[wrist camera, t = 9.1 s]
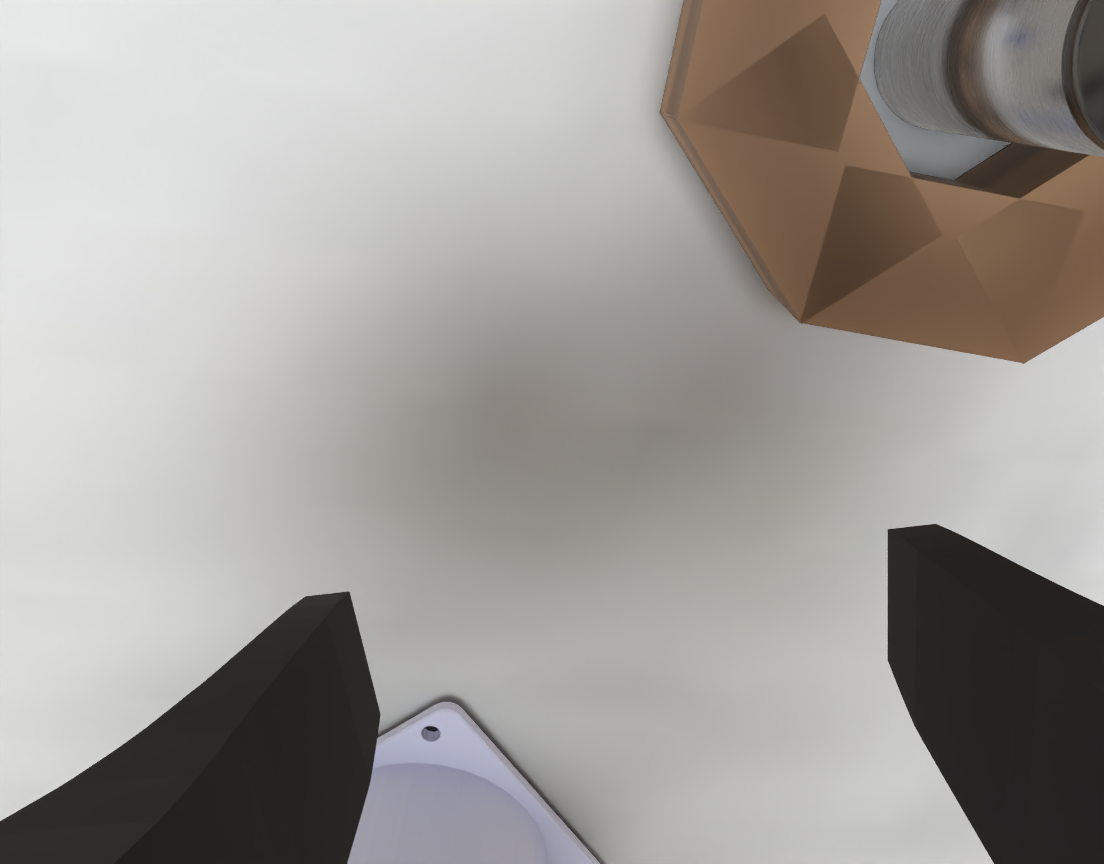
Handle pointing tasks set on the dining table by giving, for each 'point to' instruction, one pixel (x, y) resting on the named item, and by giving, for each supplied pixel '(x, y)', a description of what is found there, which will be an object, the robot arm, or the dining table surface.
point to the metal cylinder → (998, 69)
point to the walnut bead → (876, 191)
